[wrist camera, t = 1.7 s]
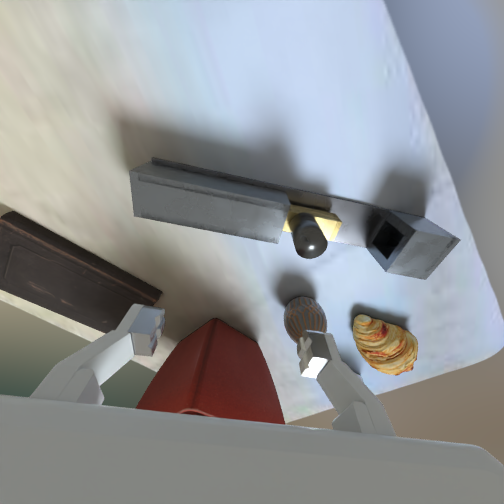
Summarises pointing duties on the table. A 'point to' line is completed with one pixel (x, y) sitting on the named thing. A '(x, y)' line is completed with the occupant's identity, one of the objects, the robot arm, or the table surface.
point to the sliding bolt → (311, 230)
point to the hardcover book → (66, 276)
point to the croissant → (385, 345)
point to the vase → (303, 317)
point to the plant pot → (215, 378)
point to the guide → (283, 214)
